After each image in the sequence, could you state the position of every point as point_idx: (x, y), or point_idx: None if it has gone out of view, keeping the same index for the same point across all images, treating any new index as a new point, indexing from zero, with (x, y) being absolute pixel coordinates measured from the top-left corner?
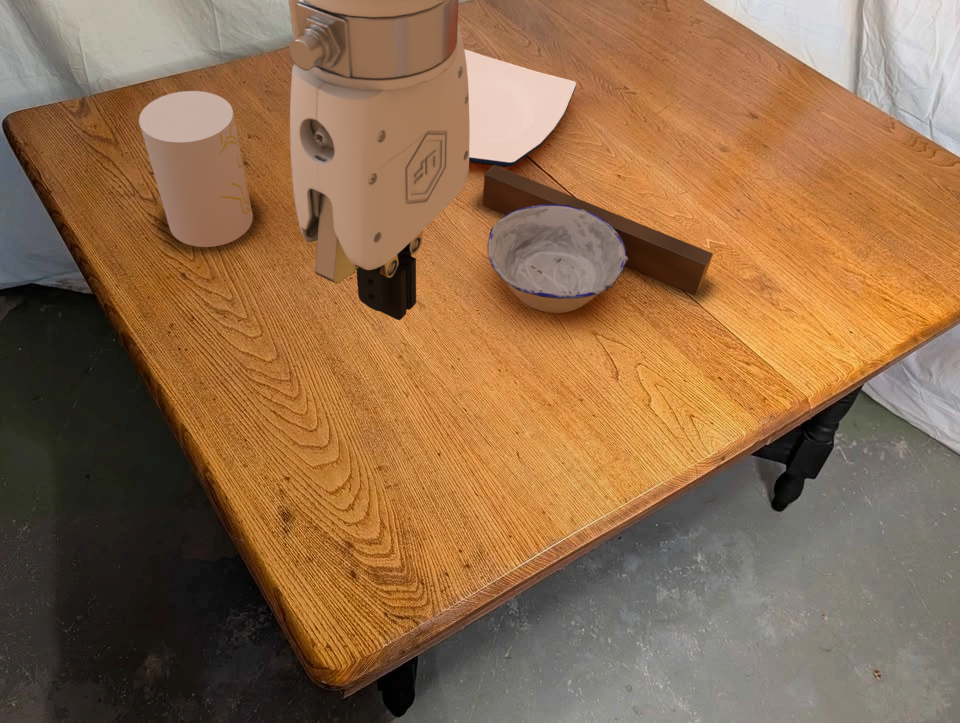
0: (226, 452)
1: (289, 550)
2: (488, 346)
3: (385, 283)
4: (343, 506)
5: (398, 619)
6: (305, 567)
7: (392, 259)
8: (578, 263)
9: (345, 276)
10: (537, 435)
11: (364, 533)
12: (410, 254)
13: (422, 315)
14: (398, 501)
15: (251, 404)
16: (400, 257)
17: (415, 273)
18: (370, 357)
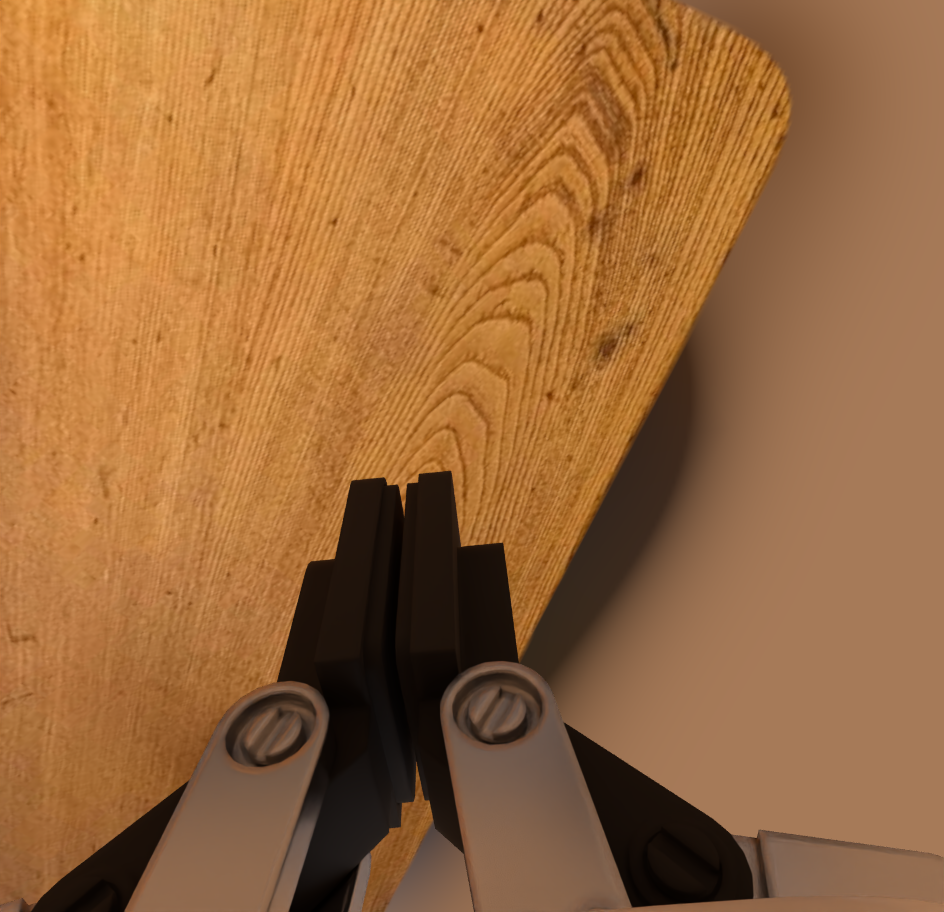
0: (567, 493)
1: (656, 298)
2: (58, 316)
3: (490, 637)
4: (537, 287)
5: (671, 35)
6: (669, 255)
7: (501, 760)
8: None
9: (861, 857)
10: (136, 73)
11: (560, 218)
12: (286, 677)
13: (119, 459)
14: (469, 214)
15: (476, 528)
16: (365, 705)
17: (331, 590)
18: (266, 461)
